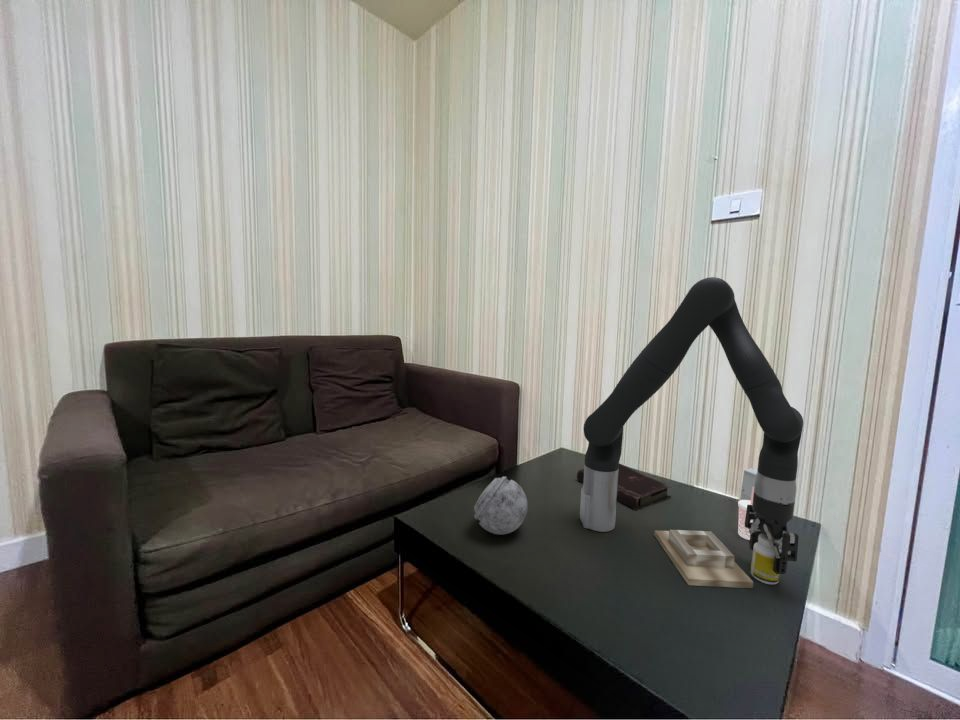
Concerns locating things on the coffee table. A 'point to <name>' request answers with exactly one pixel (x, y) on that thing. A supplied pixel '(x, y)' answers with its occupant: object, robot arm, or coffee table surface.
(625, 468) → the diary
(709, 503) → the coffee table surface
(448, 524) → the coffee table surface
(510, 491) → the decorative orb
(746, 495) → the skincare box
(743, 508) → the beverage cup
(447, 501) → the coffee table surface
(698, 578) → the socket board
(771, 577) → the supplement bottle
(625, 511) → the coffee table surface
